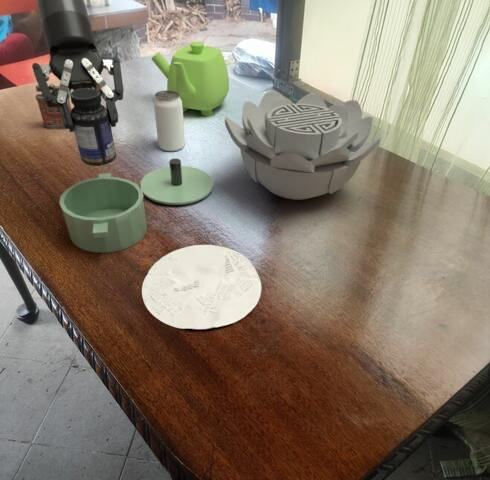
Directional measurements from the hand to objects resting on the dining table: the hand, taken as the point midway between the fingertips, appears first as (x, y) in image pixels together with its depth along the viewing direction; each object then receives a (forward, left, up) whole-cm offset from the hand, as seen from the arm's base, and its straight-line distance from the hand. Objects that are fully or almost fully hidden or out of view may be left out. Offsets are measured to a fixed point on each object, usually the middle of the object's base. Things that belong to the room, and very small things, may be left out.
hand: (93, 127), depth 75 cm
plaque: (+15, -21, -19) cm, 32 cm away
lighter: (-15, +46, -19) cm, 52 cm away
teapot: (+19, +56, -19) cm, 62 cm away
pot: (-1, -2, -19) cm, 19 cm away
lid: (+13, +12, -18) cm, 26 cm away
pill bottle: (0, +2, -7) cm, 7 cm away
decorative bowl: (+39, +11, -19) cm, 45 cm away
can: (+13, +32, -19) cm, 40 cm away
